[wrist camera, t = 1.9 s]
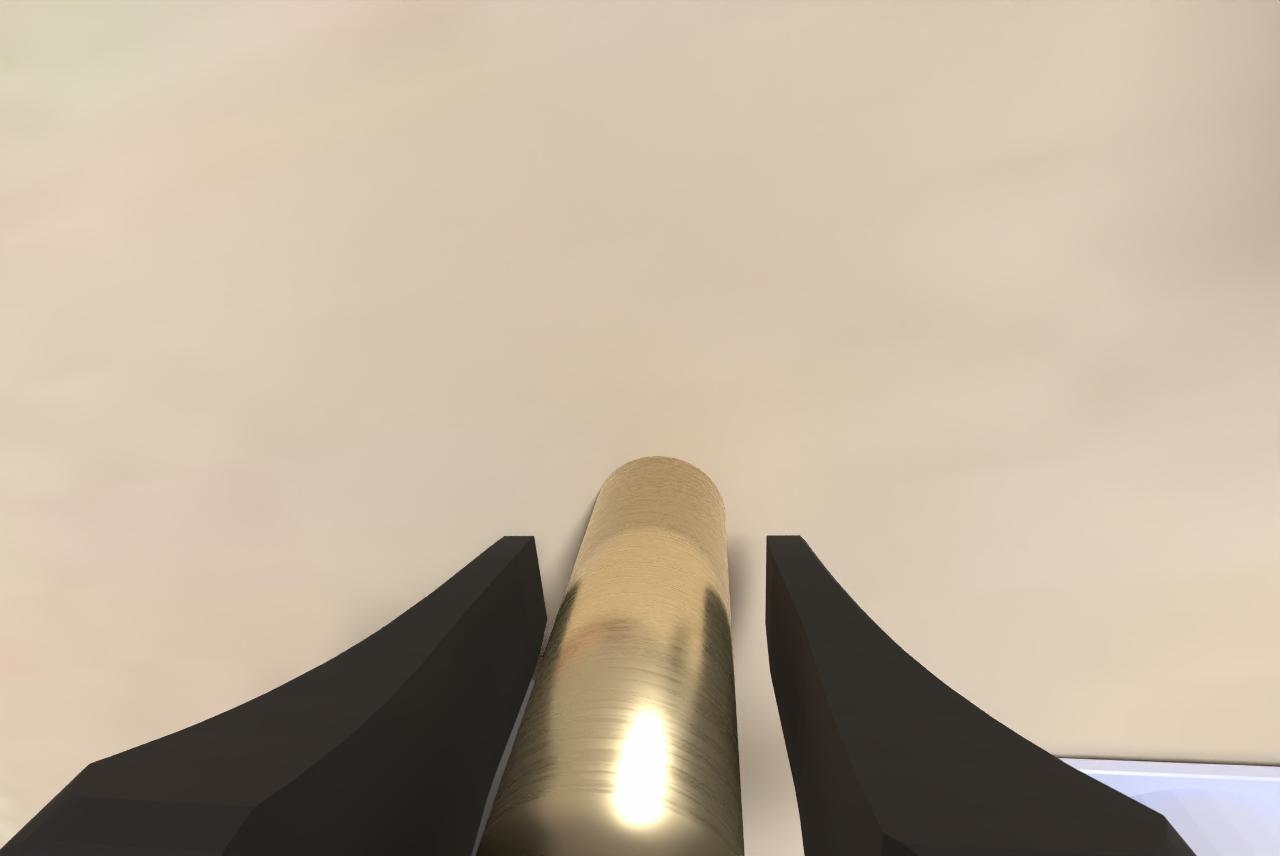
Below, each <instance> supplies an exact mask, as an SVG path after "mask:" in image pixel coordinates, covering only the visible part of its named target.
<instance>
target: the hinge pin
mask: <svg viewBox="0 0 1280 856" xmlns="http://www.w3.org/2000/svg"><path fill="white" fill-rule="evenodd" d="M476 856H744V838H743V821H742V804H741V786H740V769H739V751H738V734H737V716H736V699H735V681H734V664H733V646H732V629H731V611H730V594H729V576H728V559H727V541H726V524H725V510H724V504H723V500H722V497H721V495H720V493H719V491H718V489H717V487H716V486H715V484H714V483H713V482H712V481H711V479H710V478H709V477H708V476H707V475H706V474H704V473H703V472H702V471H700V470H699V469H698V468H696V467H694V466H693V465H691V464H689V463H686V462H684V461H681V460H678V459H674V458H669V457H646V458H641V459H637V460H634V461H631V462H629V463H627V464H625V465H623V466H622V467H620V468H618V469H617V470H616V471H615V472H613V473H612V474H611V475H610V476H609V478H608V479H607V480H606V481H605V483H604V484H603V486H602V488H601V490H600V492H599V495H598V497H597V500H596V503H595V506H594V509H593V512H592V515H591V518H590V521H589V524H588V527H587V530H586V533H585V536H584V539H583V541H582V544H581V547H580V550H579V553H578V556H577V559H576V562H575V565H574V568H573V571H572V574H571V577H570V580H569V583H568V585H567V588H566V591H565V594H564V597H563V600H562V603H561V606H560V609H559V612H558V615H557V618H556V621H555V624H554V627H553V629H552V632H551V635H550V638H549V641H548V644H547V647H546V650H545V653H544V656H543V659H542V662H541V665H540V668H539V670H538V673H537V676H536V679H535V682H534V685H533V688H532V691H531V694H530V697H529V700H528V703H527V706H526V709H525V712H524V714H523V717H522V720H521V723H520V726H519V729H518V732H517V735H516V738H515V741H514V744H513V747H512V750H511V753H510V756H509V758H508V761H507V764H506V767H505V770H504V773H503V776H502V779H501V782H500V785H499V788H498V791H497V794H496V797H495V800H494V802H493V805H492V808H491V811H490V814H489V817H488V820H487V823H486V826H485V829H484V832H483V835H482V838H481V841H480V843H479V846H478V849H477V853H476Z"/></svg>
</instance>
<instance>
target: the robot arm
mask: <svg viewBox="0 0 1280 856" xmlns="http://www.w3.org/2000/svg"><path fill="white" fill-rule="evenodd" d="M546 622H547V615H546V609H545V602H544V596H543V590H542V583H541V577H540V571H539V564H538V558H537V552H536V545H535V539H534V536H504V537H503V538H501V539H500V540H498V541H497V542H496V543H494V544H493V545H492V546H490V547H489V548H488V549H487V550H485V551H484V552H483V553H482V554H480V555H479V556H478V557H477V558H475V559H474V560H473V561H472V562H470V563H469V564H468V565H467V566H465V567H464V568H463V569H462V570H460V571H459V572H458V573H456V574H455V575H454V576H453V577H451V578H450V579H449V580H448V581H446V582H445V583H444V584H442V585H441V586H440V587H439V588H437V589H436V590H435V591H434V592H432V593H431V594H429V595H428V596H427V597H425V598H424V599H423V600H421V601H420V602H418V603H417V604H416V605H414V606H413V607H411V608H410V609H409V610H407V611H406V612H404V613H403V614H402V615H400V616H399V617H397V618H396V619H395V620H393V621H392V622H391V623H389V624H388V625H386V626H385V627H383V628H382V629H380V630H379V631H377V632H375V633H374V634H372V635H371V636H369V637H368V638H366V639H365V640H363V641H361V642H360V643H358V644H356V645H355V646H353V647H351V648H350V649H348V650H346V651H345V652H343V653H341V654H340V655H338V656H336V657H334V658H333V659H331V660H329V661H327V662H326V663H324V664H322V665H320V666H318V667H316V668H314V669H312V670H310V671H308V672H306V673H305V674H303V675H301V676H299V677H297V678H295V679H293V680H291V681H289V682H287V683H285V684H283V685H281V686H280V687H278V688H276V689H274V690H272V691H270V692H268V693H266V694H264V695H261V696H259V697H257V698H255V699H253V700H251V701H248V702H246V703H244V704H242V705H240V706H237V707H235V708H233V709H231V710H228V711H226V712H224V713H221V714H219V715H217V716H214V717H212V718H210V719H207V720H205V721H203V722H200V723H198V724H196V725H193V726H191V727H188V728H186V729H183V730H181V731H178V732H176V733H173V734H170V735H167V736H165V737H162V738H159V739H157V740H154V741H151V742H149V743H146V744H143V745H140V746H138V747H135V748H132V749H130V750H127V751H124V752H122V753H119V754H116V755H113V756H111V757H108V758H105V759H102V760H99V761H96V762H93V763H90V764H89V765H88V766H87V767H86V768H85V769H84V770H82V771H81V772H80V773H79V774H78V775H77V776H76V777H75V778H74V779H73V780H72V781H71V782H70V783H69V784H68V785H67V786H66V787H65V788H64V789H63V790H62V791H61V792H60V793H59V794H57V795H56V796H55V797H54V798H53V799H52V800H51V801H50V802H49V803H48V804H47V805H46V806H45V807H44V808H43V809H42V810H41V811H40V812H39V813H38V814H37V815H36V816H35V817H34V818H33V819H31V820H30V821H29V822H28V823H27V824H26V825H25V826H24V827H23V828H22V829H21V830H20V831H19V832H18V833H17V834H16V835H15V836H14V837H13V838H12V839H11V840H10V841H9V842H8V843H6V844H5V845H4V846H3V847H2V848H1V849H0V856H472V852H473V848H474V845H475V841H476V837H477V834H478V830H479V826H480V823H481V819H482V815H483V812H484V808H485V805H486V801H487V798H488V795H489V792H490V789H491V786H492V783H493V780H494V777H495V774H496V771H497V769H498V766H499V763H500V761H501V758H502V756H503V753H504V750H505V748H506V745H507V742H508V740H509V737H510V735H511V732H512V729H513V727H514V724H515V722H516V719H517V716H518V714H519V711H520V708H521V706H522V703H523V701H524V698H525V695H526V693H527V690H528V687H529V685H530V682H531V679H532V676H533V674H534V671H535V668H536V665H537V661H538V657H539V653H540V649H541V645H542V640H543V636H544V631H545V627H546ZM765 623H766V634H767V644H768V654H769V664H770V673H771V678H772V683H773V687H774V692H775V697H776V702H777V706H778V711H779V716H780V720H781V725H782V730H783V734H784V739H785V744H786V748H787V753H788V758H789V762H790V767H791V772H792V776H793V781H794V786H795V791H796V797H797V803H798V808H799V814H800V822H801V830H802V838H803V846H804V854H805V856H1280V767H1275V766H1249V765H1224V764H1198V763H1172V762H1147V761H1121V760H1096V759H1070V758H1057V757H1055V756H1053V755H1052V754H1050V753H1048V752H1047V751H1045V750H1043V749H1042V748H1040V747H1038V746H1037V745H1035V744H1033V743H1032V742H1030V741H1028V740H1027V739H1025V738H1023V737H1022V736H1020V735H1019V734H1017V733H1015V732H1014V731H1012V730H1011V729H1009V728H1008V727H1006V726H1005V725H1003V724H1002V723H1000V722H998V721H997V720H995V719H994V718H992V717H991V716H989V715H988V714H987V713H985V712H984V711H982V710H981V709H979V708H978V707H977V706H975V705H974V704H972V703H971V702H970V701H968V700H967V699H965V698H964V697H962V696H961V695H960V694H958V693H957V692H955V691H954V690H953V689H951V688H950V687H949V686H947V685H946V684H945V683H943V682H942V681H941V680H939V679H938V678H937V677H936V676H934V675H933V674H932V673H931V672H929V671H928V670H927V669H926V668H925V667H923V666H922V665H921V664H920V663H919V662H917V661H916V660H915V659H914V658H912V657H911V656H910V655H909V654H908V653H906V652H905V651H904V650H903V649H902V648H901V647H900V646H899V645H898V644H896V643H895V642H894V641H893V640H892V639H891V638H890V637H889V636H888V635H887V634H886V633H885V632H884V631H883V630H882V629H881V628H880V627H879V626H878V625H877V624H876V623H875V622H874V621H873V620H872V619H871V618H870V617H869V616H868V615H867V614H866V613H865V612H864V611H863V610H862V609H861V608H860V607H859V606H858V604H857V603H856V602H855V601H854V600H853V599H852V598H851V597H850V596H849V594H848V593H847V592H846V591H845V590H844V589H843V588H842V587H841V586H840V584H839V583H838V582H837V581H836V580H835V578H834V577H833V576H832V575H831V574H830V572H829V571H828V570H827V569H826V567H825V566H824V565H823V564H822V562H821V561H820V560H819V559H818V557H817V556H816V555H815V553H814V552H813V551H812V549H811V548H810V547H809V545H808V544H807V543H806V541H805V540H804V539H803V538H802V537H801V536H800V535H798V536H767V547H766V619H765Z"/></svg>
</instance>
